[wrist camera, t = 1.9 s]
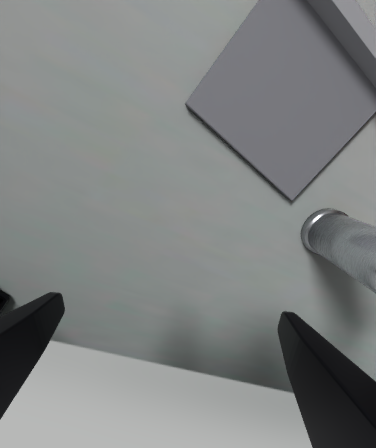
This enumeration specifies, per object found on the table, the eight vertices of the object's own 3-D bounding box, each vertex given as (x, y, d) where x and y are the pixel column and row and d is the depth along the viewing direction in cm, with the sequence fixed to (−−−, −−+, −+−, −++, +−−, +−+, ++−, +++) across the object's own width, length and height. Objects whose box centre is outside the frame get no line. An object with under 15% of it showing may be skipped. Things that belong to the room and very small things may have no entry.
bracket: (288, 199, 19) (301, 204, 17) (185, 104, 16) (186, 98, 15) (389, 91, 17) (416, 83, 15) (288, -40, 14) (305, -70, 12)
